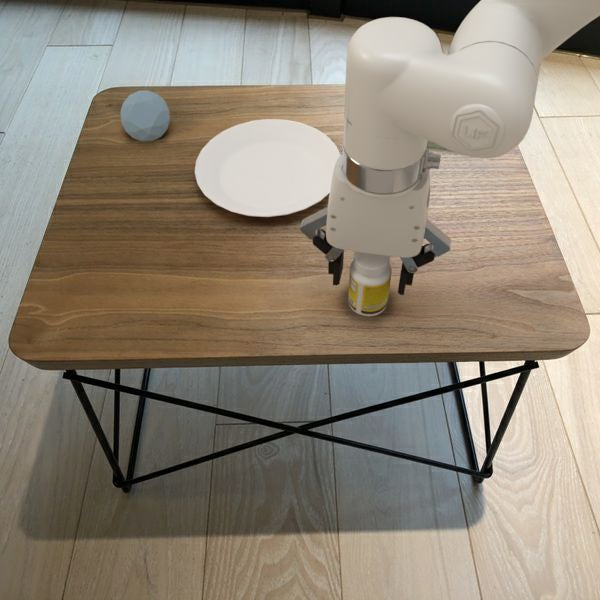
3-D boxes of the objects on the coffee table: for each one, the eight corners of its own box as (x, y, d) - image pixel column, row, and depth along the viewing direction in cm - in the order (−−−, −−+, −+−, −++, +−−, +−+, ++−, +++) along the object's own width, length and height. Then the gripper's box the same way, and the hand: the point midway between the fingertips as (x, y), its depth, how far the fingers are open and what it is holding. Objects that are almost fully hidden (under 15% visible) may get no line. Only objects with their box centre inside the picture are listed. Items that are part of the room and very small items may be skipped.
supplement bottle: (394, 297, 75) (401, 251, 68) (374, 323, 72) (380, 278, 66) (360, 280, 76) (364, 233, 70) (340, 306, 74) (342, 260, 67)
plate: (352, 139, 93) (353, 127, 91) (326, 238, 81) (326, 226, 79) (222, 123, 96) (220, 111, 95) (177, 216, 84) (174, 204, 82)
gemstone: (130, 91, 97) (120, 85, 92) (178, 98, 97) (171, 93, 92) (125, 140, 98) (115, 137, 93) (172, 147, 98) (165, 144, 93)
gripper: (479, 144, 58) (447, 267, 72) (299, 125, 60) (302, 247, 75) (476, 198, 54) (443, 317, 68) (282, 175, 56) (289, 295, 70)
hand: (369, 280), depth 71 cm, fingers open, 6 cm apart
